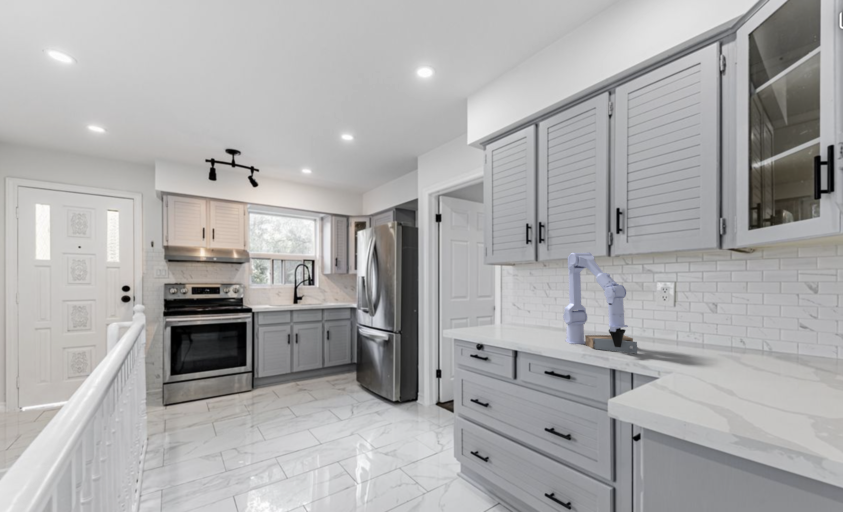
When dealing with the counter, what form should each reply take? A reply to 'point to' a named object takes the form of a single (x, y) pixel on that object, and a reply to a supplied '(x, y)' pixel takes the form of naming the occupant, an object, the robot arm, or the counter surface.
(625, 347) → the door
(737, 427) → the counter surface
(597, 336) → the cabinet
